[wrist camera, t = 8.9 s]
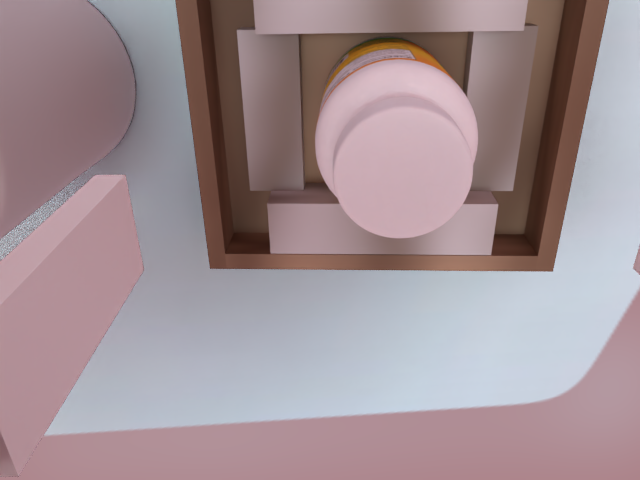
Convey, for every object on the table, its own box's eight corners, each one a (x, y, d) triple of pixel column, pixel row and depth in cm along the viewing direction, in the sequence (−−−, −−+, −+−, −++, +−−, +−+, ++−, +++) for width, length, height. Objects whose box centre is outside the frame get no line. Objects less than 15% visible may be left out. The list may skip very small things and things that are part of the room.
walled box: (223, 239, 28) (208, 271, 26) (188, -67, 22) (164, -70, 19) (533, 241, 28) (555, 274, 25) (591, -76, 21) (630, -81, 18)
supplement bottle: (454, 142, 25) (510, 241, 16) (339, 169, 26) (334, 276, 17) (435, 19, 22) (488, 56, 14) (309, 53, 23) (285, 108, 15)
